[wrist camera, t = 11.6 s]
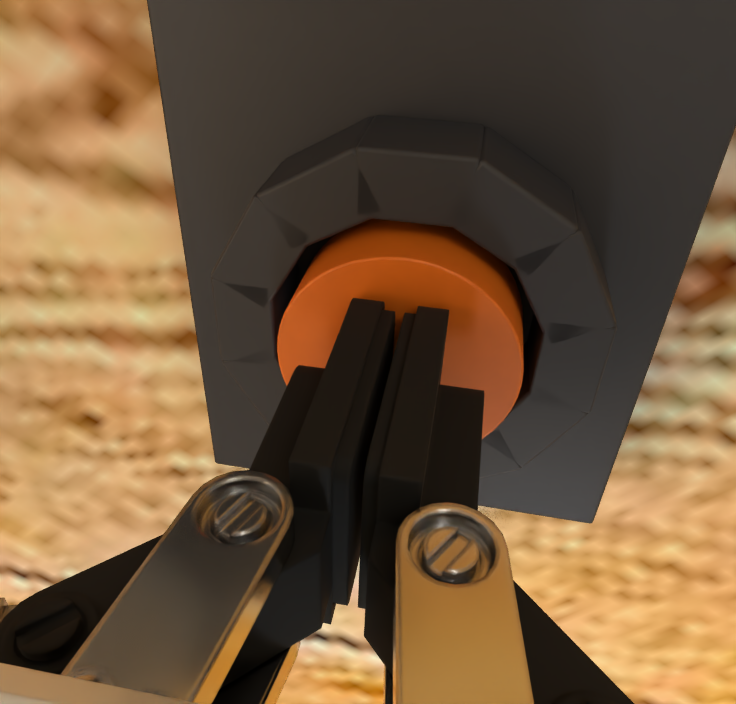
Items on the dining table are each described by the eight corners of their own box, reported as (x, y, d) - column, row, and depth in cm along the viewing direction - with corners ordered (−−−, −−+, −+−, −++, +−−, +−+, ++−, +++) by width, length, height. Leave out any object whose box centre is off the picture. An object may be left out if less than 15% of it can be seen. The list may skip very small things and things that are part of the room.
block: (190, -64, 12) (78, -46, 9) (745, -34, 11) (838, 1, 8) (241, 411, 20) (188, 515, 16) (585, 463, 18) (600, 586, 15)
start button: (297, 200, 12) (268, 243, 11) (543, 225, 11) (547, 274, 10) (304, 387, 15) (281, 440, 13) (503, 415, 14) (502, 474, 13)
